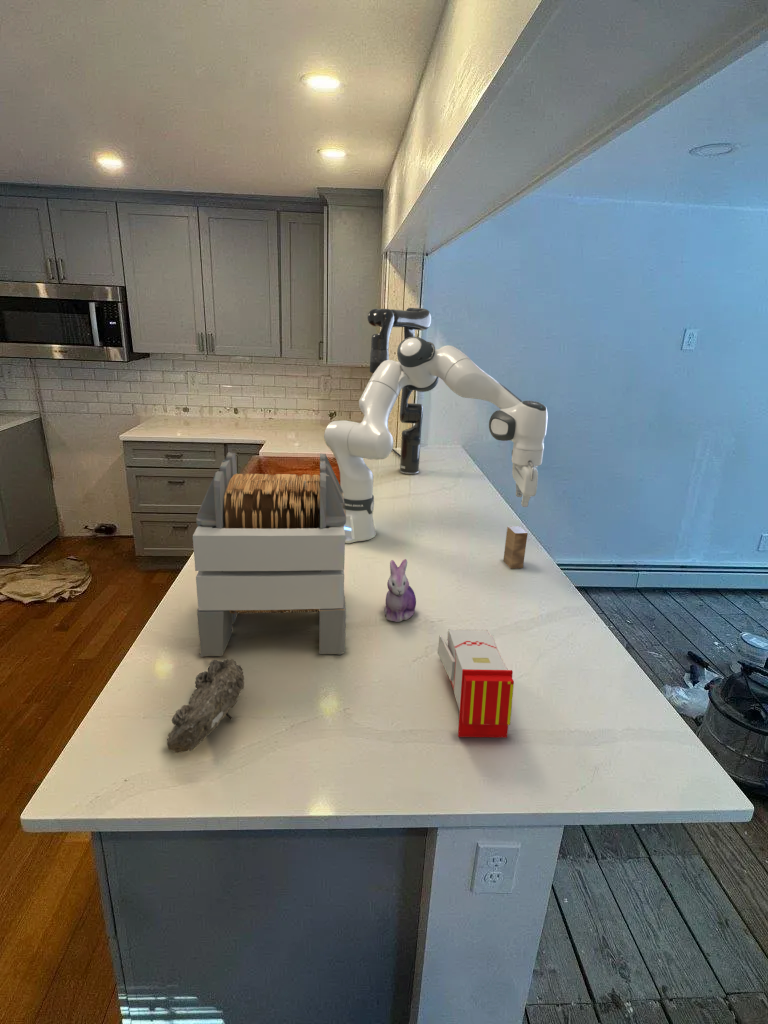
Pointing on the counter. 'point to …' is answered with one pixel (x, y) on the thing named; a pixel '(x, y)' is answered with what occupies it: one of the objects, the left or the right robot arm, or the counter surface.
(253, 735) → the counter surface
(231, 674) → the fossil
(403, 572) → the figurine
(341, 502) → the record crate
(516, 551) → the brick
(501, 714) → the toy
